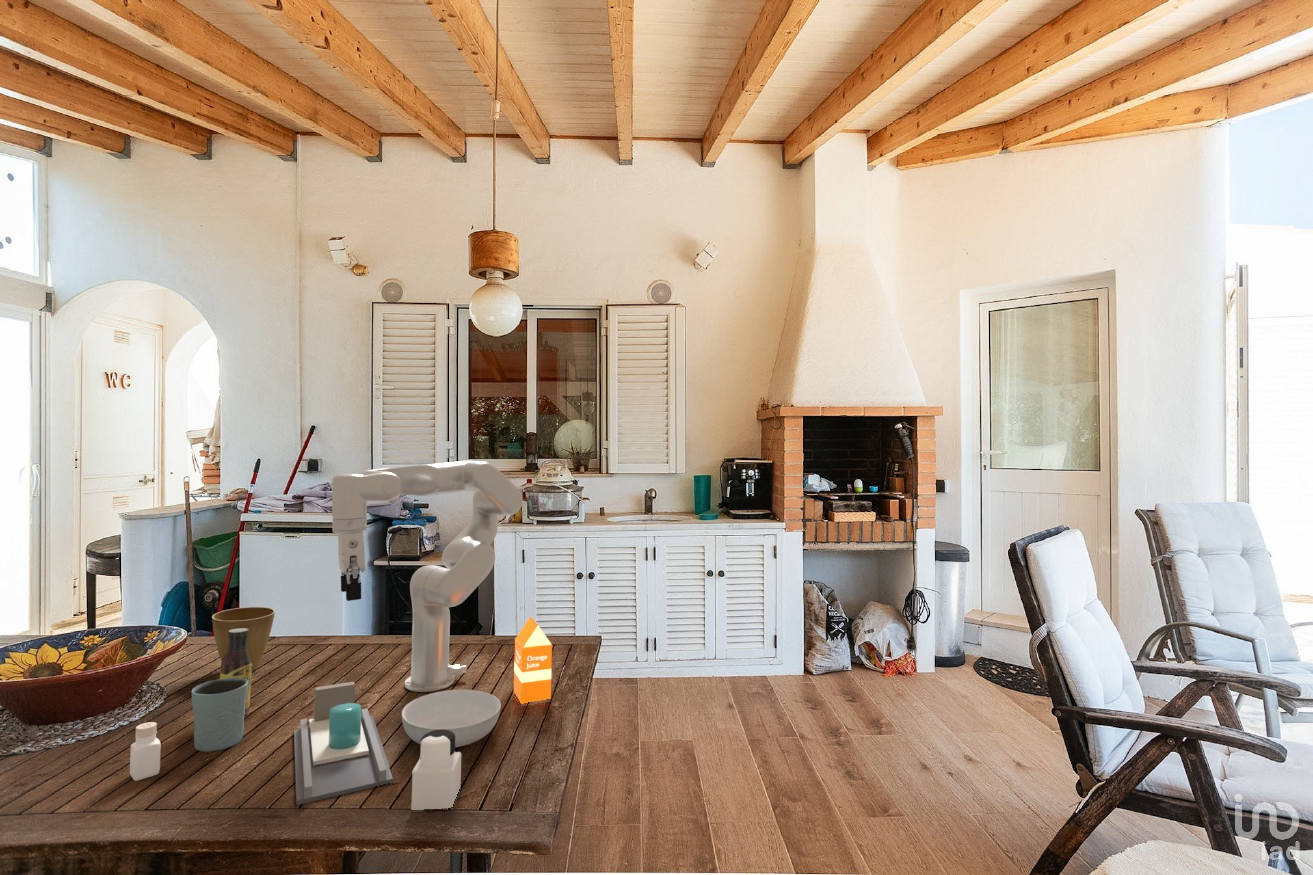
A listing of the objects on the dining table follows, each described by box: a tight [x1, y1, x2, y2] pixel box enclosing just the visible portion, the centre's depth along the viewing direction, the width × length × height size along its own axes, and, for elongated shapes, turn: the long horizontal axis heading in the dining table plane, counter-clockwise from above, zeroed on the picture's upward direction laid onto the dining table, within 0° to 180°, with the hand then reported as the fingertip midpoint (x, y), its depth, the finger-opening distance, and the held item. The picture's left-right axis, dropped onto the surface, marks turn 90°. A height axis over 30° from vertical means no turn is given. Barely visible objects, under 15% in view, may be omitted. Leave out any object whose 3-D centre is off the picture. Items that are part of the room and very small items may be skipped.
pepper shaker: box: [129, 721, 162, 782], centre depth 122 cm, size 4×4×10 cm
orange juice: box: [513, 616, 553, 704], centre depth 164 cm, size 8×9×20 cm
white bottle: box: [410, 729, 462, 811], centre depth 116 cm, size 7×7×12 cm
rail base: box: [293, 707, 394, 806], centre depth 131 cm, size 16×32×3 cm, turn 30°
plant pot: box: [211, 606, 276, 672], centre depth 179 cm, size 15×15×16 cm
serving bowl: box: [401, 689, 502, 748], centre depth 141 cm, size 21×21×7 cm
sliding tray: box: [308, 681, 369, 766], centre depth 137 cm, size 10×22×8 cm, turn 30°
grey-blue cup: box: [191, 678, 248, 752], centre depth 137 cm, size 10×10×12 cm
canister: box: [329, 702, 362, 749], centre depth 133 cm, size 6×6×7 cm
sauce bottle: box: [219, 628, 253, 716], centre depth 150 cm, size 7×6×20 cm
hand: (350, 595), depth 155 cm, fingers open, 9 cm apart
